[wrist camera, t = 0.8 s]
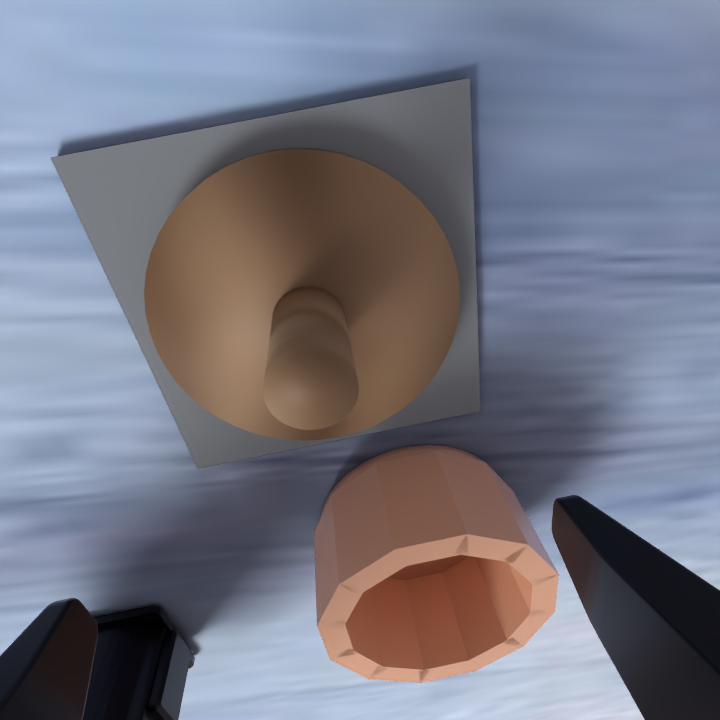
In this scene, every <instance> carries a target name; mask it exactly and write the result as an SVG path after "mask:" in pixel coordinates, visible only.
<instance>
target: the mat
mask: <svg viewBox="0 0 720 720" xmlns="http://www.w3.org/2000/svg"><path fill="white" fill-rule="evenodd" d="M287 148H317V149H322V150H328V151H334V152H339V153H343V154H346V155H349V156H352V157H355V158H358V159H361V160H363V161H365V162H367V163H369V164H371V165H373V166H375V167H378V168H380V169H381V170H383V171H384V172H386V173H387V174H389V175H390V176H392V177H393V178H395V179H396V180H398V181H399V182H400V183H401V184H402V185H404V186H405V187H406V188H407V189H408V190H409V191H410V192H411V193H413V194H414V195H415V196H416V197H417V198H418V199H419V200H420V201H421V202H422V203H423V204H424V206H425V207H426V208H427V209H428V210H429V212H430V213H431V214H432V215H433V216H434V218H435V219H436V221H437V223H438V224H439V226H440V228H441V229H442V231H443V233H444V234H445V236H446V239H447V241H448V243H449V246H450V248H451V250H452V253H453V256H454V260H455V263H456V267H457V271H458V278H459V286H460V310H459V316H458V323H457V328H456V331H455V335H454V338H453V341H452V344H451V347H450V349H449V351H448V353H447V356H446V358H445V360H444V362H443V363H442V365H441V367H440V368H439V370H438V371H437V373H436V375H435V376H434V377H433V378H432V380H431V381H430V382H429V384H428V385H427V386H426V387H425V388H424V389H423V390H422V392H421V393H420V394H419V395H418V396H417V397H416V398H415V399H414V400H412V401H411V402H410V403H409V404H407V405H406V406H405V407H404V408H402V409H401V410H400V411H398V412H397V413H395V414H394V415H392V416H390V417H389V418H387V419H386V420H384V421H382V422H380V423H378V424H376V425H374V426H372V427H369V428H366V429H364V430H361V431H358V432H356V433H352V434H348V435H345V436H341V437H336V438H329V439H323V440H306V441H301V440H285V439H278V438H272V437H267V436H263V435H259V434H255V433H252V432H249V431H246V430H244V429H241V428H238V427H236V426H233V425H232V424H230V423H228V422H226V421H224V420H222V419H220V418H218V417H216V416H215V415H213V414H212V413H210V412H209V411H207V410H206V409H204V408H203V407H202V406H201V405H199V404H198V403H197V402H196V401H195V400H193V399H192V398H191V397H190V396H189V395H188V394H187V393H186V392H185V391H184V390H183V389H182V388H181V387H180V386H179V385H178V383H177V382H176V381H175V380H174V378H173V377H172V376H171V374H170V373H169V371H168V370H167V369H166V367H165V365H164V364H163V362H162V360H161V358H160V356H159V354H158V352H157V351H156V348H155V345H154V343H153V340H152V337H151V335H150V332H149V327H148V323H147V318H146V314H145V300H144V288H145V275H146V270H147V266H148V261H149V257H150V253H151V251H152V248H153V246H154V243H155V241H156V238H157V236H158V234H159V232H160V230H161V229H162V227H163V225H164V224H165V222H166V220H167V219H168V217H169V216H170V214H171V213H172V212H173V211H174V209H175V208H176V207H177V206H178V205H179V203H180V202H181V201H182V200H183V199H184V198H185V197H186V196H187V195H188V194H189V193H190V192H191V191H193V190H194V189H195V188H196V187H197V186H198V185H200V184H201V183H202V182H203V181H204V180H205V179H207V178H208V177H209V176H211V175H213V174H214V173H216V172H217V171H219V170H221V169H222V168H224V167H225V166H227V165H229V164H232V163H234V162H236V161H238V160H241V159H243V158H245V157H248V156H251V155H255V154H259V153H263V152H266V151H270V150H279V149H287ZM51 160H52V162H53V164H54V166H55V168H56V170H57V172H58V174H59V176H60V179H61V181H62V183H63V185H64V187H65V189H66V191H67V193H68V195H69V198H70V200H71V202H72V204H73V206H74V208H75V210H76V212H77V215H78V217H79V219H80V221H81V223H82V225H83V227H84V229H85V231H86V234H87V236H88V238H89V240H90V242H91V244H92V246H93V248H94V250H95V253H96V255H97V257H98V259H99V261H100V263H101V265H102V267H103V269H104V272H105V274H106V276H107V278H108V280H109V282H110V284H111V286H112V288H113V291H114V293H115V295H116V297H117V299H118V301H119V303H120V305H121V307H122V310H123V312H124V314H125V316H126V318H127V320H128V322H129V324H130V326H131V329H132V331H133V333H134V335H135V337H136V339H137V341H138V343H139V346H140V348H141V350H142V352H143V354H144V356H145V358H146V360H147V362H148V365H149V367H150V369H151V371H152V373H153V375H154V377H155V379H156V381H157V384H158V386H159V388H160V390H161V392H162V394H163V396H164V398H165V400H166V403H167V405H168V407H169V409H170V411H171V413H172V415H173V417H174V419H175V422H176V424H177V426H178V428H179V430H180V432H181V434H182V436H183V438H184V441H185V443H186V445H187V447H188V449H189V451H190V453H191V455H192V457H193V460H194V462H195V464H196V466H197V468H198V469H200V468H205V467H210V466H214V465H219V464H224V463H229V462H234V461H239V460H244V459H249V458H254V457H259V456H264V455H269V454H273V453H278V452H283V451H288V450H293V449H298V448H303V447H308V446H313V445H318V444H323V443H327V442H332V441H337V440H342V439H347V438H352V437H357V436H362V435H367V434H372V433H377V432H382V431H386V430H391V429H396V428H401V427H406V426H411V425H416V424H421V423H426V422H431V421H436V420H440V419H445V418H450V417H455V416H460V415H465V414H470V413H475V412H480V411H481V406H480V374H479V343H478V312H477V281H476V249H475V218H474V187H473V156H472V124H471V93H470V78H466V79H461V80H456V81H450V82H445V83H440V84H435V85H429V86H424V87H419V88H414V89H408V90H403V91H398V92H393V93H387V94H382V95H377V96H372V97H366V98H361V99H356V100H350V101H345V102H340V103H335V104H329V105H324V106H319V107H314V108H308V109H303V110H298V111H293V112H287V113H282V114H277V115H272V116H266V117H261V118H256V119H251V120H245V121H240V122H235V123H230V124H224V125H219V126H214V127H209V128H203V129H198V130H193V131H188V132H182V133H177V134H172V135H167V136H161V137H156V138H151V139H146V140H140V141H135V142H130V143H125V144H119V145H114V146H109V147H104V148H98V149H93V150H88V151H82V152H77V153H72V154H67V155H61V156H56V157H52V158H51Z"/></svg>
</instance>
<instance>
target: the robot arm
mask: <svg viewBox="0 0 720 720" xmlns="http://www.w3.org/2000/svg"><path fill="white" fill-rule="evenodd" d="M552 533H553V537H554V540H555V542H556V544H557V547H558V549H559V551H560V554H561V556H562V558H563V561H564V563H565V565H566V567H567V570H568V572H569V574H570V577H571V579H572V581H573V583H574V586H575V588H576V590H577V593H578V595H579V597H580V600H581V602H582V604H583V606H584V609H585V611H586V613H587V615H588V617H589V620H590V622H591V624H592V625H593V627H594V629H595V631H596V633H597V635H598V637H599V639H600V640H601V642H602V644H603V646H604V647H605V649H606V651H607V653H608V655H609V656H610V658H611V660H612V662H613V664H614V665H615V667H616V669H617V671H618V673H619V674H620V676H621V678H622V680H623V681H624V683H625V685H626V687H627V689H628V690H629V692H630V694H631V696H632V698H633V699H634V701H635V703H636V705H637V707H638V708H639V710H640V712H641V714H642V715H643V717H644V719H645V720H720V590H718V589H717V588H715V587H714V586H712V585H711V584H709V583H708V582H706V581H705V580H703V579H702V578H700V577H699V576H697V575H696V574H694V573H693V572H691V571H690V570H688V569H687V568H685V567H684V566H683V565H681V564H680V563H678V562H677V561H675V560H674V559H672V558H671V557H669V556H668V555H666V554H665V553H663V552H662V551H660V550H659V549H657V548H656V547H654V546H653V545H651V544H650V543H648V542H647V541H645V540H644V539H642V538H641V537H639V536H638V535H636V534H635V533H633V532H632V531H630V530H629V529H628V528H626V527H625V526H623V525H622V524H620V523H619V522H617V521H616V520H614V519H613V518H611V517H610V516H608V515H607V514H605V513H604V512H602V511H601V510H599V509H598V508H596V507H595V506H593V505H592V504H590V503H589V502H587V501H586V500H584V499H583V498H581V497H579V496H577V495H571V496H566V497H561V498H557V499H556V500H555V501H554V506H553V517H552ZM194 660H195V657H194V655H193V654H192V652H191V651H190V649H189V648H188V647H187V645H186V644H185V642H184V641H183V639H182V638H181V636H180V635H179V633H178V632H177V630H176V629H175V627H174V626H173V624H172V623H171V621H170V620H169V618H168V617H167V615H166V614H165V612H164V611H163V610H162V609H161V608H160V607H156V606H151V607H146V608H141V609H137V610H132V611H127V612H122V613H117V614H113V615H108V616H103V617H98V618H93V616H92V615H91V614H90V613H89V611H88V610H87V609H86V608H85V607H84V605H83V604H82V603H81V602H80V601H79V600H78V599H76V598H70V599H65V600H60V601H56V602H53V603H51V604H50V605H49V606H47V607H46V608H45V609H44V610H43V611H42V612H41V613H40V614H39V616H38V617H37V618H36V619H35V620H34V621H33V622H32V623H31V624H30V625H29V626H28V627H27V628H26V629H25V630H24V631H23V632H22V633H21V635H20V636H19V637H18V638H17V639H16V640H15V641H14V642H13V643H12V644H11V645H10V646H9V647H8V648H7V649H6V650H5V651H4V652H3V654H2V655H1V656H0V720H178V718H179V713H180V707H181V702H182V697H183V692H184V687H185V682H186V677H187V672H188V668H191V667H192V666H193V665H194Z"/></svg>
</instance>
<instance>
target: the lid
mask: <svg viewBox="0 0 720 720" xmlns="http://www.w3.org/2000/svg"><path fill="white" fill-rule="evenodd" d="M144 300H145V314H146V318H147V323H148V327H149V332H150V335H151V337H152V340H153V343H154V345H155V348H156V351H157V352H158V354H159V356H160V358H161V360H162V362H163V364H164V365H165V367H166V369H167V370H168V371H169V373H170V374H171V376H172V377H173V378H174V380H175V381H176V382H177V383H178V385H179V386H180V387H181V388H182V389H183V390H184V391H185V392H186V393H187V394H188V395H189V396H190V397H191V398H192V399H193V400H195V401H196V402H197V403H198V404H199V405H201V406H202V407H203V408H204V409H206V410H207V411H209V412H210V413H212V414H213V415H215V416H216V417H218V418H220V419H222V420H224V421H226V422H228V423H230V424H232V425H233V426H236V427H238V428H241V429H244V430H246V431H249V432H252V433H255V434H259V435H263V436H267V437H272V438H278V439H285V440H301V441H306V440H323V439H329V438H336V437H341V436H345V435H348V434H352V433H356V432H358V431H361V430H364V429H366V428H369V427H372V426H374V425H376V424H378V423H380V422H382V421H384V420H386V419H387V418H389V417H390V416H392V415H394V414H395V413H397V412H398V411H400V410H401V409H402V408H404V407H405V406H406V405H407V404H409V403H410V402H411V401H412V400H414V399H415V398H416V397H417V396H418V395H419V394H420V393H421V392H422V390H423V389H424V388H425V387H426V386H427V385H428V384H429V382H430V381H431V380H432V378H433V377H434V376H435V375H436V373H437V371H438V370H439V368H440V367H441V365H442V363H443V362H444V360H445V358H446V356H447V353H448V351H449V349H450V347H451V344H452V341H453V338H454V335H455V331H456V328H457V323H458V316H459V310H460V286H459V278H458V271H457V267H456V263H455V260H454V256H453V253H452V250H451V248H450V246H449V243H448V241H447V239H446V236H445V234H444V233H443V231H442V229H441V228H440V226H439V224H438V223H437V221H436V219H435V218H434V216H433V215H432V214H431V213H430V212H429V210H428V209H427V208H426V207H425V206H424V204H423V203H422V202H421V201H420V200H419V199H418V198H417V197H416V196H415V195H414V194H413V193H411V192H410V191H409V190H408V189H407V188H406V187H405V186H404V185H402V184H401V183H400V182H399V181H398V180H396V179H395V178H393V177H392V176H390V175H389V174H387V173H386V172H384V171H383V170H381V169H380V168H378V167H375V166H373V165H371V164H369V163H367V162H365V161H363V160H361V159H358V158H355V157H352V156H349V155H346V154H343V153H339V152H334V151H328V150H322V149H317V148H287V149H279V150H270V151H266V152H263V153H259V154H255V155H251V156H248V157H245V158H243V159H241V160H238V161H236V162H234V163H232V164H229V165H227V166H225V167H224V168H222V169H221V170H219V171H217V172H216V173H214V174H213V175H211V176H209V177H208V178H207V179H205V180H204V181H203V182H202V183H201V184H200V185H198V186H197V187H196V188H195V189H194V190H193V191H191V192H190V193H189V194H188V195H187V196H186V197H185V198H184V199H183V200H182V201H181V202H180V203H179V205H178V206H177V207H176V208H175V209H174V211H173V212H172V213H171V214H170V216H169V217H168V219H167V220H166V222H165V224H164V225H163V227H162V229H161V230H160V232H159V234H158V236H157V238H156V241H155V243H154V246H153V248H152V251H151V253H150V257H149V261H148V266H147V270H146V275H145V288H144Z"/></svg>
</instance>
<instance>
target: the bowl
mask: <svg viewBox="0 0 720 720" xmlns="http://www.w3.org/2000/svg"><path fill="white" fill-rule="evenodd" d="M314 548H315V578H316V608H317V627H318V629H319V632H320V634H321V637H322V640H323V642H324V645H325V648H326V650H327V653H328V655H329V658H330V660H332V661H334V662H336V663H338V664H340V665H342V666H344V667H346V668H348V669H350V670H352V671H354V672H356V673H357V674H359V675H361V676H363V677H365V678H367V679H374V680H389V681H404V682H418V683H421V682H426V681H431V680H435V679H440V678H445V677H449V676H454V675H459V674H463V673H468V672H473V671H476V670H478V669H480V668H482V667H484V666H486V665H488V664H490V663H492V662H494V661H496V660H497V659H499V658H501V657H503V656H505V655H507V654H509V653H511V652H513V651H515V650H517V649H519V648H521V647H523V646H524V645H525V644H526V643H527V642H528V641H529V640H530V638H531V637H532V636H533V635H534V634H535V633H536V632H537V631H538V630H539V628H540V627H541V626H542V625H543V624H544V623H545V622H546V621H547V620H548V619H549V617H550V616H551V615H552V614H553V613H554V612H555V605H556V595H557V585H558V576H559V574H558V572H557V571H556V569H555V567H554V565H553V563H552V561H551V560H550V558H549V556H548V554H547V552H546V550H545V549H544V547H543V545H542V543H541V541H540V539H539V538H538V536H537V534H536V532H535V530H534V528H533V527H532V525H531V523H530V521H529V519H528V517H527V516H526V514H525V512H524V510H523V508H522V506H521V505H520V503H519V501H518V499H517V497H516V495H515V494H514V492H513V490H512V489H511V488H510V487H509V486H508V485H507V484H506V483H505V482H504V481H503V480H502V479H501V478H500V477H499V476H498V475H497V474H496V473H495V471H494V470H493V469H492V468H491V467H490V466H489V465H488V464H487V463H486V462H484V461H483V460H481V459H480V458H478V457H477V456H475V455H473V454H471V453H468V452H466V451H463V450H460V449H457V448H453V447H447V446H439V445H418V446H410V447H403V448H399V449H395V450H391V451H388V452H385V453H383V454H380V455H377V456H375V457H373V458H371V459H369V460H367V461H365V462H363V463H362V464H360V465H358V466H357V467H355V468H354V469H353V470H351V471H350V472H349V473H347V474H346V475H345V476H344V477H343V478H342V479H341V480H340V481H339V482H338V483H337V484H336V485H335V487H334V488H333V489H332V491H331V492H330V494H329V495H328V497H327V499H326V501H325V503H324V506H323V509H322V514H321V518H320V520H319V523H318V525H317V527H316V529H315V531H314Z"/></svg>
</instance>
